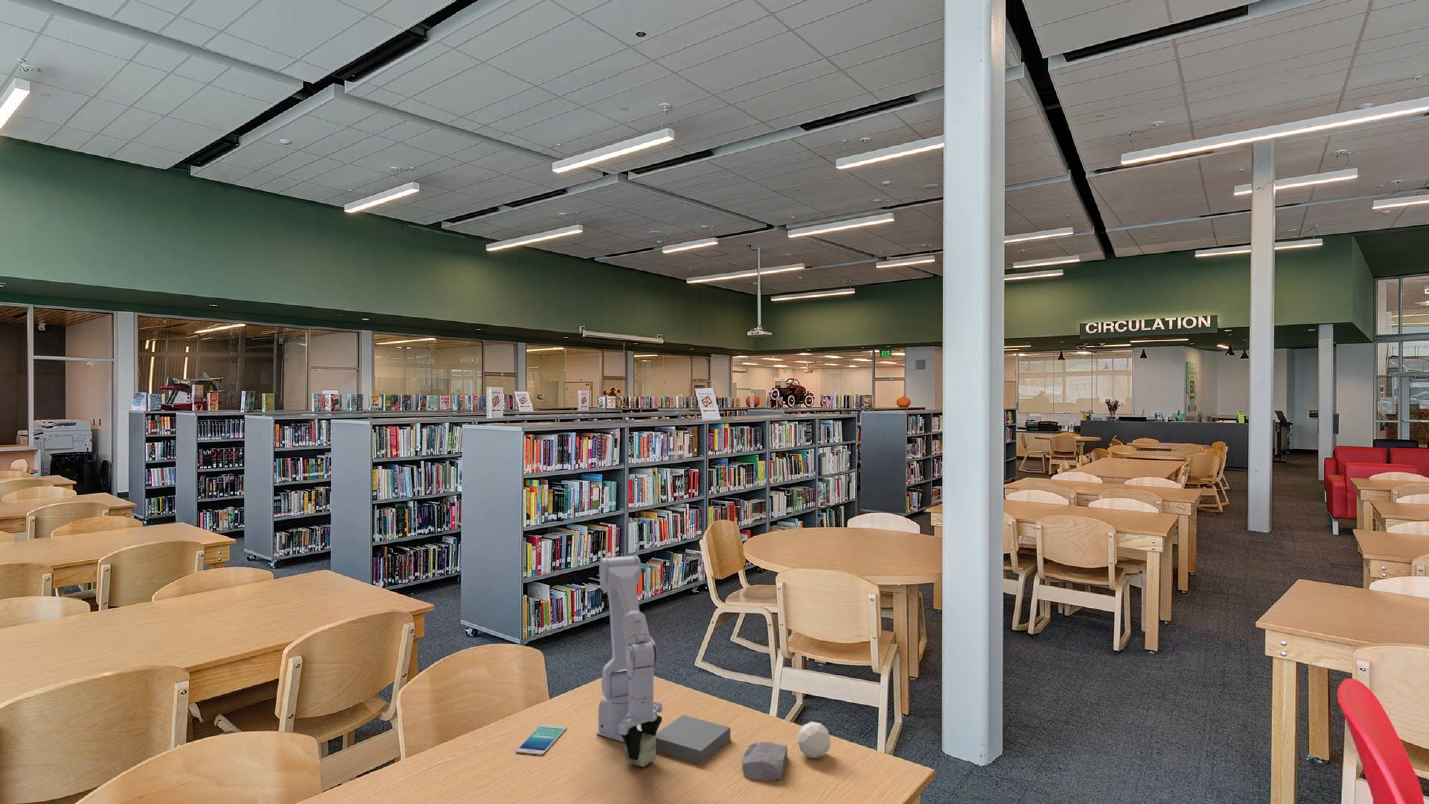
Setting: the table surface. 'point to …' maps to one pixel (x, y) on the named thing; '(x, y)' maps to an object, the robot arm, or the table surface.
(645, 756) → the sage green cube
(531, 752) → the smartphone
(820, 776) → the table surface
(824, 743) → the geometric ball
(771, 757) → the stone block
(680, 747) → the stacking base
